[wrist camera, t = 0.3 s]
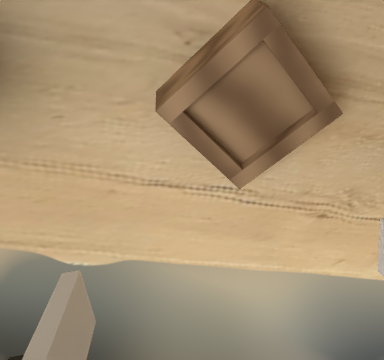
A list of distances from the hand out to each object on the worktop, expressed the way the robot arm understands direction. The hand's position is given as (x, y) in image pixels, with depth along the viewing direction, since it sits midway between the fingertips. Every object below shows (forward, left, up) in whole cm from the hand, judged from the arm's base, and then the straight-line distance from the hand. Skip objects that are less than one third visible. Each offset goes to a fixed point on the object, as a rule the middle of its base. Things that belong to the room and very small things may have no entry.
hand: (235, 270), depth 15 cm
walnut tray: (-3, +5, -25) cm, 26 cm away
